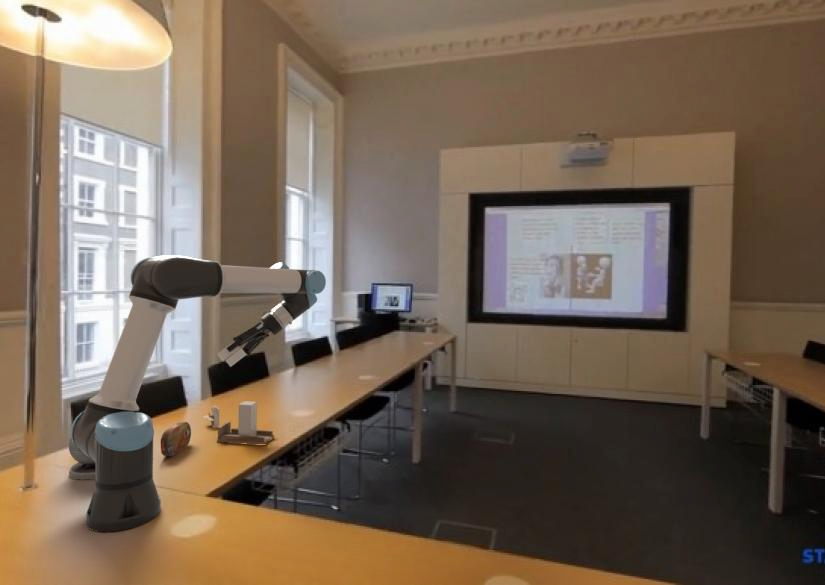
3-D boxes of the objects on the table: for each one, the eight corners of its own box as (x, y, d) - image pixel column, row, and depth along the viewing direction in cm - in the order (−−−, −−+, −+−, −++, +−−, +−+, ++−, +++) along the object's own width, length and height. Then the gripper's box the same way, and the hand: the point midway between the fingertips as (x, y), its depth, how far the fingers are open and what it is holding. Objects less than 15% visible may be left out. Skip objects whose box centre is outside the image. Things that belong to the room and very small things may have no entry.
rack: (264, 445, 162) (264, 431, 162) (216, 442, 164) (217, 427, 164) (274, 437, 170) (274, 423, 170) (228, 434, 172) (228, 420, 172)
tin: (168, 460, 147) (168, 433, 147) (158, 460, 147) (158, 433, 147) (191, 443, 162) (192, 418, 162) (182, 443, 162) (182, 418, 162)
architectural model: (210, 430, 177) (210, 410, 177) (202, 425, 182) (203, 406, 182) (219, 428, 180) (219, 408, 180) (212, 424, 185) (212, 405, 184)
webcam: (119, 475, 136) (120, 423, 135) (64, 483, 130) (64, 428, 129) (123, 459, 147) (123, 411, 147) (72, 465, 141) (73, 415, 141)
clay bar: (250, 439, 164) (251, 405, 164) (238, 439, 165) (238, 404, 164) (256, 435, 169) (257, 401, 168) (244, 434, 169) (244, 401, 169)
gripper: (280, 319, 152) (223, 364, 145) (286, 335, 175) (237, 374, 169) (265, 302, 152) (207, 345, 146) (273, 319, 176) (224, 357, 169)
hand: (223, 361), depth 157 cm, fingers open, 13 cm apart
